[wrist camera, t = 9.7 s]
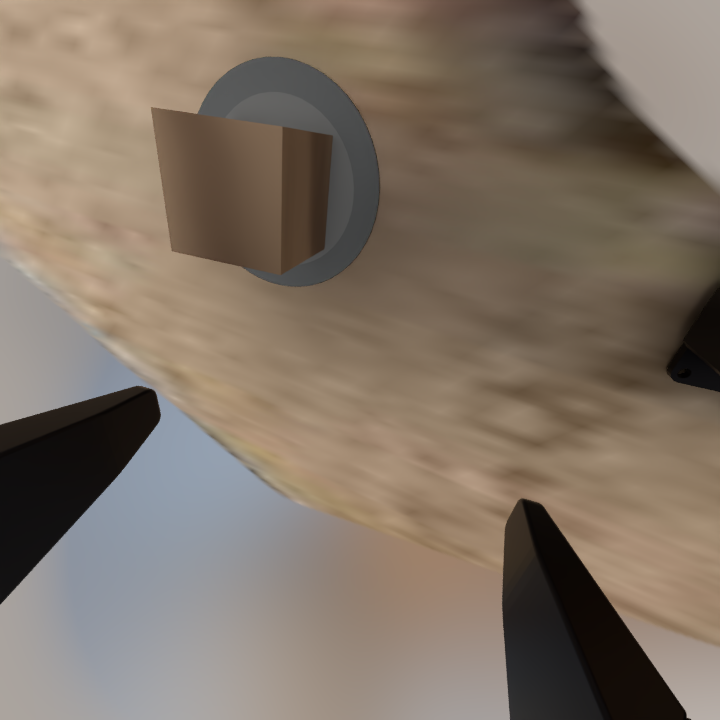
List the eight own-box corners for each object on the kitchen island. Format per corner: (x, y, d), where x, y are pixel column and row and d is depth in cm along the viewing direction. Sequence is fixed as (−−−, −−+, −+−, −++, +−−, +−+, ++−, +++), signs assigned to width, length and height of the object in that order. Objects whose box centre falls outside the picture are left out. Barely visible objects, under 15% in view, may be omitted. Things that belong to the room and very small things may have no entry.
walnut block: (333, 135, 16) (282, 126, 12) (324, 248, 18) (280, 275, 14) (232, 120, 17) (150, 107, 12) (237, 231, 19) (171, 250, 15)
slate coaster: (396, 69, 14) (396, 68, 14) (364, 302, 19) (364, 303, 19) (178, 47, 16) (176, 46, 16) (202, 266, 21) (201, 267, 21)
